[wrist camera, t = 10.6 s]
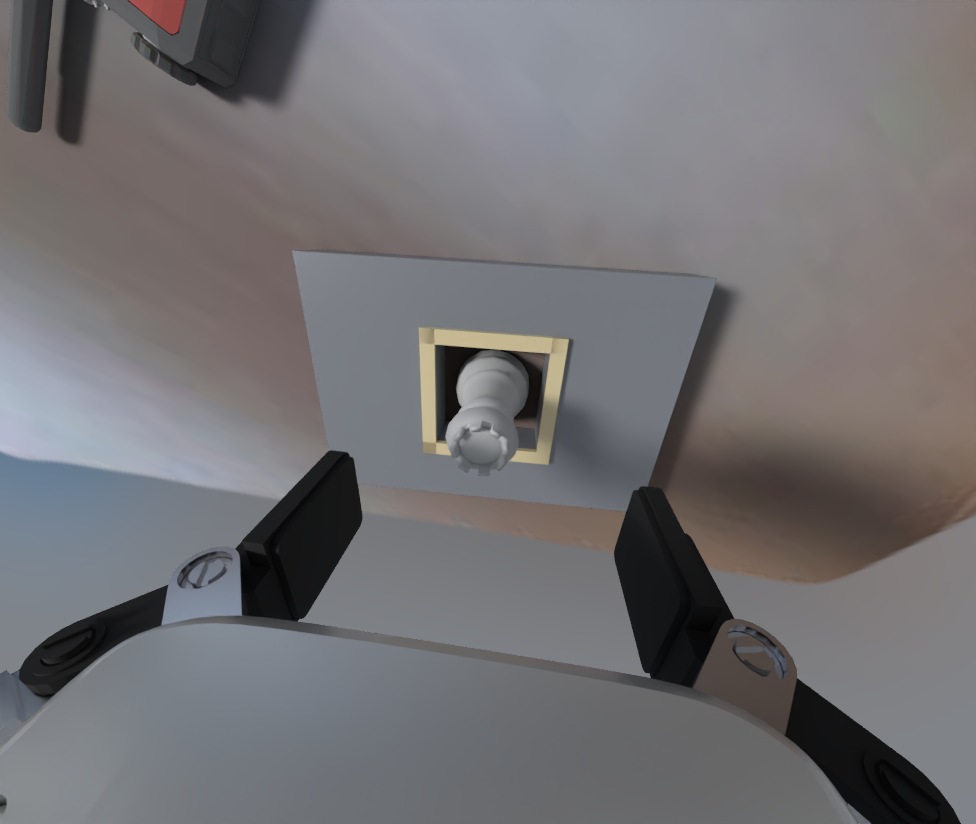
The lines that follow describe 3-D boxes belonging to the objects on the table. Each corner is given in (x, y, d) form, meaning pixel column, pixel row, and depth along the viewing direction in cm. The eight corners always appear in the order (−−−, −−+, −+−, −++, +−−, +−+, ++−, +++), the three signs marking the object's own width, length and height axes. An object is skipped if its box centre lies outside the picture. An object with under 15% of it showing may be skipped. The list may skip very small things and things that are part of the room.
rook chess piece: (544, 386, 21) (555, 459, 14) (490, 426, 23) (476, 509, 16) (496, 331, 20) (483, 381, 13) (443, 377, 22) (405, 444, 14)
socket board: (692, 274, 18) (720, 279, 15) (627, 487, 24) (640, 516, 22) (319, 249, 19) (288, 250, 16) (350, 460, 25) (332, 484, 23)
